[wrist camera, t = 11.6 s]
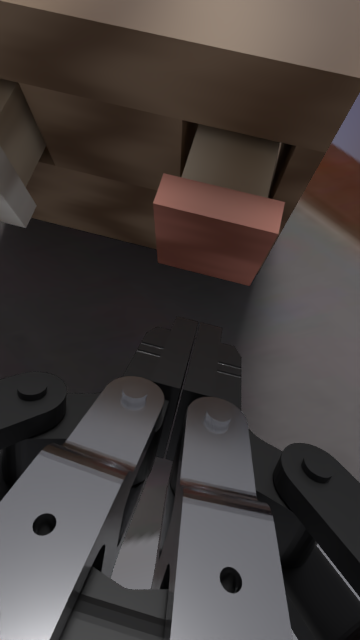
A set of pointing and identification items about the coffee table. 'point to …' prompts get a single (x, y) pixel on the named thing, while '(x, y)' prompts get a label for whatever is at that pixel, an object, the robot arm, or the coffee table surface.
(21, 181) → the key cream
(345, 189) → the coffee table surface
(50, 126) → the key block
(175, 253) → the key red
